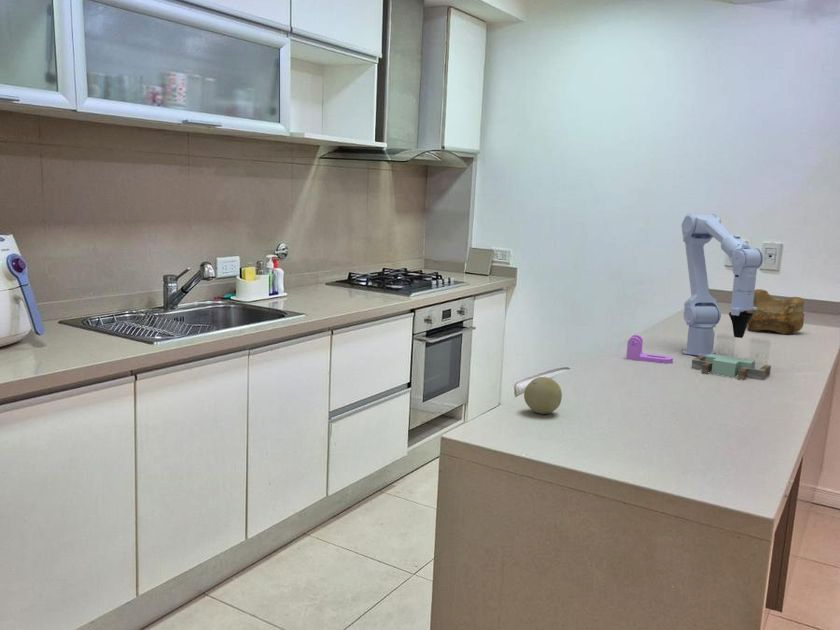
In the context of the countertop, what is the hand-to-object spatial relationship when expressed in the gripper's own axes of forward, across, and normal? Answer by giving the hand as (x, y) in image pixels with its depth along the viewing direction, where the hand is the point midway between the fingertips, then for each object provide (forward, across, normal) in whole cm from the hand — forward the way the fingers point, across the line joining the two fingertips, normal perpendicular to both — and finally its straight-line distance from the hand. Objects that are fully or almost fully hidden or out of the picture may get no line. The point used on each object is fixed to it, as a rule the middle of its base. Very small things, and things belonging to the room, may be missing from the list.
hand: (738, 337), depth 204 cm
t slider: (+9, -8, 0) cm, 13 cm away
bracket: (+10, -8, +22) cm, 26 cm away
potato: (+9, -79, +21) cm, 82 cm away
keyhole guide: (+9, -7, 0) cm, 12 cm away
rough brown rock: (+10, +75, +8) cm, 76 cm away
